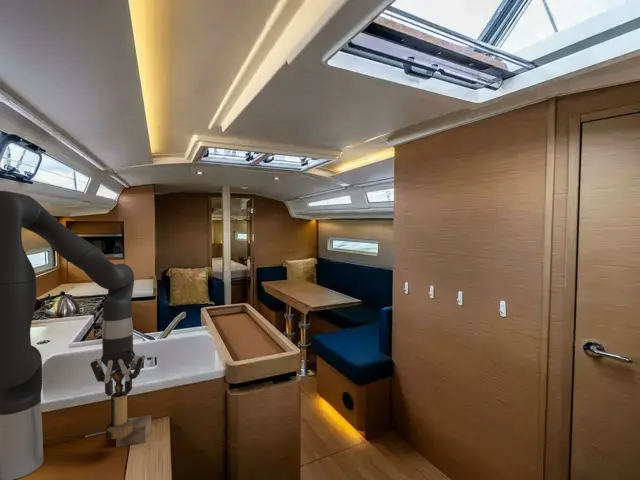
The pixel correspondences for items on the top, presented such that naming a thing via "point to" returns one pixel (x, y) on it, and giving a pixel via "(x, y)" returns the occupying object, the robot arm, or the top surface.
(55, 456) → the top surface
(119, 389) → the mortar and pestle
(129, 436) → the walnut stand
